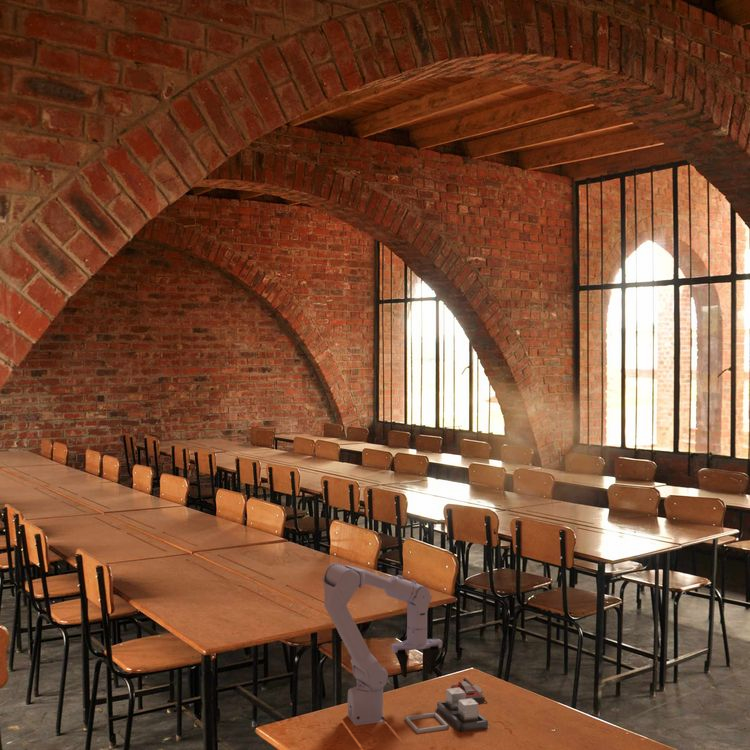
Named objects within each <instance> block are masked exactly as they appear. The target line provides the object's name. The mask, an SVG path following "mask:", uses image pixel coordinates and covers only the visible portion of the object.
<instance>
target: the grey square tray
mask: <svg viewBox="0 0 750 750" xmlns="http://www.w3.org/2000/svg"><path fill="white" fill-rule="evenodd" d="M427 718H435V719H437V721H438V722H439V723H440V724H441V725H435V726H429V727H422V728H418V727H417V725H416V724H415V723H414V722H413V721H412V720H420V719H427ZM404 721H405V722H406V724H408V725H409V726H410V727H411V729H412V730H413V731H414V732H415V733H416V734H421V733H422V734H423V733H431V732H435V731H444V730H449V729H450V724H449V723H447V721H446V720H445V719H444V718H442V716H441V715H440V714H439V713H438V712H437V711H434V712H431V713H430V712H428V713H423V714H422V713H420V714H415V715H414V714H413V715H406V716H404Z"/></svg>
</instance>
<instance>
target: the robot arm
mask: <svg viewBox="0 0 750 750" xmlns="http://www.w3.org/2000/svg"><path fill="white" fill-rule="evenodd" d="M321 580H322V583H323V586H324V587H323V588H324V607H325V611H326V612H327V614H328V615H329V617H330V620H331V621H332V623H333V625H334V628H335V629H336V630H337V633H338V635H339V637H340V638H341V640H342V643H343V645H344V646H345V648H346V650H347V652H348V654H349V656H350V657H351V658H350V661H349V662H350V665H351V666H352V668H351V669H352V676H353V677H354V678H355V679H356V686H354V687H351V688H348V690H347V713H346V716H347V717H348V718H349V719H350V721H351V722H352V724H353V725H354V726H362V725H368V724H369V725H370V724H375V723H382V722H387V720H386V719H385V718H384V687H385V686H386V684H387V682H388V679H389V673H388V671H387V669H386V668H385V667H384V666H382V665H381V664H380V663H379V660H377V658H376V657H374V655H373V654H372V653H371V651H370V649H369V647H368V645H367V643H366V642H365V640H364V639H365V638H363V636H362V634H361V631H360V630H359V628H358V626H357V624H356V623H355V619H354V618H353V616H352V613H351V612H350V610H349V608H348V603H349V602H350V600H351V599H352V598H353V596H354V595H355V593H356V591H358V589H359V588H360V589H362V588H363V587H364V586H365V585H368V586H371V587H375V588H377V589H380V590H384V593H385V595H387V596H388V597H389V598H392V599H395V600H396V599H397V600H399V601H403V602H406V603H407V604H406V640H402V641H400V642H395V643H391V651H392V652H393V653H394V654H395V656H396V658H397V661H398V664H399V668H400V672H401V676H402V677H403V678H404V679H405V678H407V676H408V669H407V668H408V660H409V659H408V658H409V655H408V654H407V652H406V651H415V650H425V654H426V673H427V674H428V675H432V674H433V671H434V666H435V664H436V661H437V658H438V657H439V655H440V654H441V653H440V652H441V650H440V648H443V641H442V640H441V639H440V638H428V611H429V605H430V604H431V602H432V597H433V595H432V594H431V591H430V590H429V588H428V587H426V586H424V585H422V584H419V583H417V581H415V580H413V579H411V580H407V579H406V578H405V579H404V576H402V575H399V574H397V575H392V576H389V577H384V576H382V575H379V574H376V573H374V572H371V571H368V570H366V569H363V568H360V567H357V566H352V565H348V564H344V565H342V564H341V563H339V562H335V563H332V564H330V565H329V566H328V567H326V569H325V571H324V574H323V577H322V579H321Z"/></svg>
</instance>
